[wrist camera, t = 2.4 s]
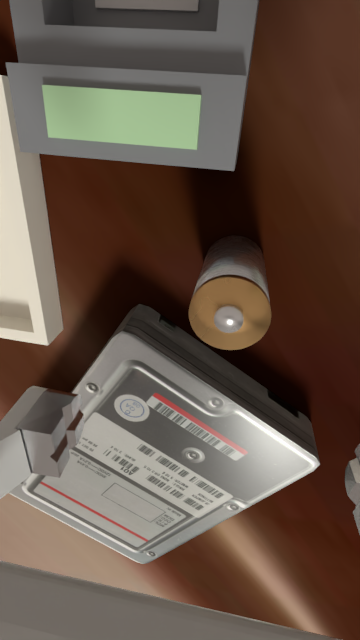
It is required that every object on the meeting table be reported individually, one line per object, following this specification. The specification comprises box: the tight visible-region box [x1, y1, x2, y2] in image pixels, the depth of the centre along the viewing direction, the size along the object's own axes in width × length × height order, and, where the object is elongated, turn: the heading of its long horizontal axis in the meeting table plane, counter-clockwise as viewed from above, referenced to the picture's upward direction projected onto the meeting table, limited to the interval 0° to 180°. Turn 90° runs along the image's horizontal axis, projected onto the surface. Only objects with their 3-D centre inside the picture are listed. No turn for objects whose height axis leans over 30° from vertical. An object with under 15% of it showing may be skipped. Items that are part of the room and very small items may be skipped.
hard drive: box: [9, 304, 320, 564], centre depth 32 cm, size 18×27×4 cm
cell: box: [189, 235, 271, 350], centre depth 19 cm, size 4×4×8 cm
